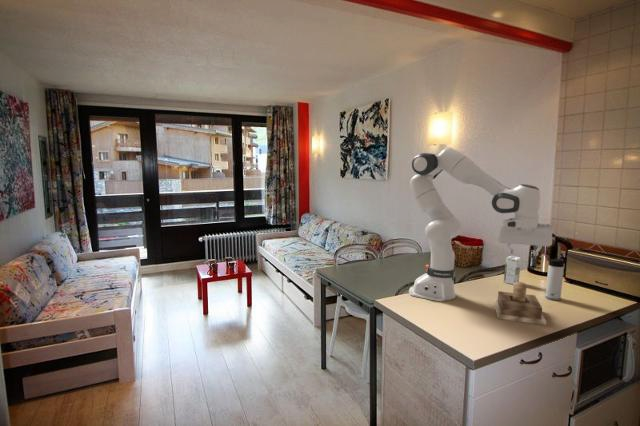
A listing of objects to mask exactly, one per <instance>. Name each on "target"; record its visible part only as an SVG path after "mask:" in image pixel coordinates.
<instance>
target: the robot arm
mask: <svg viewBox="0 0 640 426" xmlns="http://www.w3.org/2000/svg"><path fill="white" fill-rule="evenodd" d="M411 168H412V170H413V171H414V173H415V175H413V176H412V177H411V179H410V181H409V186H410V189H411V192H412V195H413V197H414V199H415V201H416V202H417V205H418V206H419V209H420V211H421V213H422V214H424V215H425V216H426V217H427V218H428V219H429V220H430V222H429V223H428V224H427V225H426V227H425V229H424V234H425V237H426V239H427V240H428V244H429V247H430V265H429V264H426V265H425V273H424V274H422V275H420V276H419V277H418V276H417V278H416V279H415V281H414V284H413V285H412V286H410V288H409V290H408V293H409V295H410V296H412V297H416V298H421V299H424V300H425V299H426V300H431V301H436V302H445V301H450V300H454V299H455V298H456V292H455V284H454V282H455V274H456V271H455V251H454V250H453V245H452V239H454V238H456V237H458V236H459V234H460V233H461V232H462V230H463V224H462V221H461V220H460V219H459V218H458V217H456V216H455V215H454V214H453V213H452V211H451V210H450V209H449V208H448V206H447V205H446V204H445V203H444V201H443V199H442V198H441V196H440V194H439V192H438V190H437V188H436V185H434V182H433V180H434V179H436V178H437V177H438V175H439V174H441V172H442V171H444V172H446V173H447V174H448V175H450V176H451V177H452V178H453V179H455V180H457V182H460V183H462V184H467V185H474V186H476V187H480V188H481V189H484V191H485V192H487V193H489V194H490V195H491V196H493V197H492V200H491V207H492V208H493V210H494V211H496V212H497V213H499V214H510V213H514V217H511V218H506V219H503V221H502V225H501V227H500V228H499V231H498V236H497V237H498V238H497V239H498V242H499V243H502V244H506V246H507V248H508V254H510V255H511V254H514V249H513V248H511V246H512V245H513V244H514V245H524V246H525V245H526V246H527V245H528V246H536V247H537V249H536V250H533V254H532V255H533V256H539V253H540V251H541V250H542V248H543V247H551V246H552V245H553V234H554V231H555V229H554V228H555V227H554V226H553V225H551V224H549V223H539V209H540V206H541V191H540V189H539V187H537V186H534V185H532V184H525V183H523V184H522V183H521V184H519V185H518V186H516V187H513V188H510V187H507V186H505V185H503V184H502V183H501V182H499V181H498V180H496V179H495V178H493V177H492V176H490V175H489V174H488V173H487V172H486V171H484V170H483V169H482V168H481V167H480V166H478V165H477V163H476V162H474V161H473V159H471V158H470V157H468V156H467V155H465V154H464V153H463V152H461V151H459V150H457V149H455V148H453V147H445V148H444V149H442V150H441V151H440V152H439V153H438V154H436V153H433V152H422V153H419V154H417V155H415V156H414V157H413V159H412V162H411Z"/></svg>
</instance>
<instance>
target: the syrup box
mask: <svg viewBox="0 0 640 426" xmlns="http://www.w3.org/2000/svg"><path fill="white" fill-rule="evenodd" d="M521 263H522V258H521V257H519V256H515V255H510V256H507V257H505V265H504V274H503V283H504V282H505V283H504V284H508V285H513V286H514V282H520V272H521Z"/></svg>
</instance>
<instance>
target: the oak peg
mask: <svg viewBox="0 0 640 426" xmlns="http://www.w3.org/2000/svg"><path fill="white" fill-rule="evenodd" d="M527 287H528V286H527V284H526V283H525V282H522V281H519V282H514V285H513V289H512V293H513V298H512V301H515V302H524V303H525V302H526V300H525V299H526V294H527Z"/></svg>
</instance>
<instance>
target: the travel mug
mask: <svg viewBox="0 0 640 426" xmlns="http://www.w3.org/2000/svg"><path fill="white" fill-rule="evenodd" d="M564 266H565V260H564V259H560V258H552V259H550V258H549V260H548V267H547V277H546V286H545V298H546V299H547V300H550V301H554V302H555V301H557V302H558V301H560V300H561V298H562V297H561V296H562V286H563V278H564V277H563V276H564V270H565V267H564Z"/></svg>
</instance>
